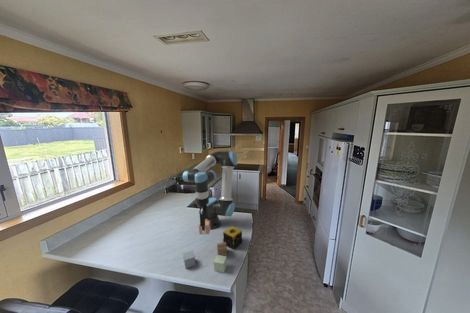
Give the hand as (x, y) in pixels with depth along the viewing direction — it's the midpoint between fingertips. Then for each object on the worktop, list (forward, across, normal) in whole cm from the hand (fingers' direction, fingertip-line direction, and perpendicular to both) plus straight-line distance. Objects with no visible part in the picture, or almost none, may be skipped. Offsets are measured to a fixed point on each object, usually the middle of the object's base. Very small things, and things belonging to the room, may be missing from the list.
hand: (205, 230), depth 115 cm
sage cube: (+18, +10, +10) cm, 23 cm away
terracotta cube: (0, 0, 0) cm, 0 cm away
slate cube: (+18, +6, -10) cm, 22 cm away
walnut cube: (+18, -2, +10) cm, 21 cm away
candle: (+19, -12, +17) cm, 28 cm away
